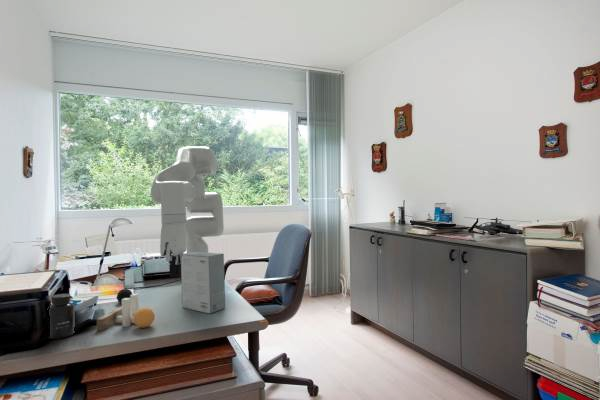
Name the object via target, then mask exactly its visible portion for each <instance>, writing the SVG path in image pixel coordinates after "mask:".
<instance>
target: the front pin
mask: <svg viewBox="0 0 600 400" xmlns="http://www.w3.org/2000/svg"><path fill="white" fill-rule="evenodd" d="M115 322H116V323H115V324H122V316H117V317H116V319H115ZM131 324H135V322H134V316H131Z"/></svg>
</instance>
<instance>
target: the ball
mask: <svg viewBox="0 0 600 400" xmlns="http://www.w3.org/2000/svg"><path fill="white" fill-rule="evenodd" d="M154 321H155V312H154V311H153V309H152V308H149V307H142V308H140V309H139V310H138V311H137V312H136V313H135V315H134V322H135V323H134V324H135V325H136V326H137V327H139V328H148V327H149V326H151V325H152V324H153V322H154Z"/></svg>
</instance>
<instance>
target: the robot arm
mask: <svg viewBox="0 0 600 400" xmlns="http://www.w3.org/2000/svg"><path fill="white" fill-rule="evenodd" d="M217 170H218V159H217V157H216V154H215V152H214V150H213V149H212V148H210V147H208V146H185V147H182V148H179V150H178V151H177V152H176V155H175V158H174V161H173V164H172V165H169V166H168V167H166V168H165V169H163V170H160V171H159V172H158V173H157V174H156V175H155V177H154V179H153V181H152V184H151V187H150V197H151V199H152V201H153V202H154V203H155V204H159V205H160V206H161V207H160V210H161V216H160V217H161V219H160V221H161V230H160V238H159V239H160V242H159V243H160V249H159V253H160V256H161V257H165V261H167V262H168V267H169V268H168V269H169V277H170V278H180V277H181V261H182V256H183V254H184V253H185V252H186V253H190V252H209V246H208V243H207V242H206V241H205V239H203V238H209V237H212V238H213V237H219V236H222V235H223V233H224V227H225V226H224V225H225V224H224V209H223V208H224V206H223V199H222V195H221V194H220V193H219V192H214V191H213V192H211V191H209V192H207V191H206V186H205V185H206V184H205V180H204V178H203V177H202V175H203V176H204V175H208V176H209V175H210V176H211V175H214V174H215V173H216V172H217ZM187 212H188V214H189V213H190V214H193V216H190V217H187ZM194 214H196V215H195V216H194ZM197 214H211V215H197Z"/></svg>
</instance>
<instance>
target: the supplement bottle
mask: <svg viewBox="0 0 600 400" xmlns="http://www.w3.org/2000/svg"><path fill="white" fill-rule="evenodd" d="M71 299H72V298H71V293H61V294H60V293H57V294H54V295H52V296H51V300H50V303H51V305H49V306H50V309H49V315H50V338H51V340H59V339H60V340H61V339H64V338H69V337H71V336H72V335H74V334H73V333H75V331H74V327H75V304H74V303H72V302H71ZM50 338H49V339H50Z"/></svg>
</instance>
